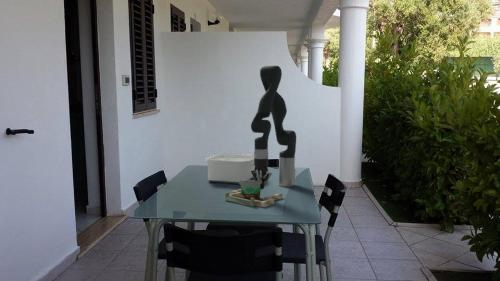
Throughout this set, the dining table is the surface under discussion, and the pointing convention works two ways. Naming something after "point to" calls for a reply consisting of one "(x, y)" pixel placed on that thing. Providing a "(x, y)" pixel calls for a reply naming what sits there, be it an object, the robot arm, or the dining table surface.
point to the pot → (230, 168)
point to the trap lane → (238, 193)
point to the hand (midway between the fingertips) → (261, 188)
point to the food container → (250, 189)
